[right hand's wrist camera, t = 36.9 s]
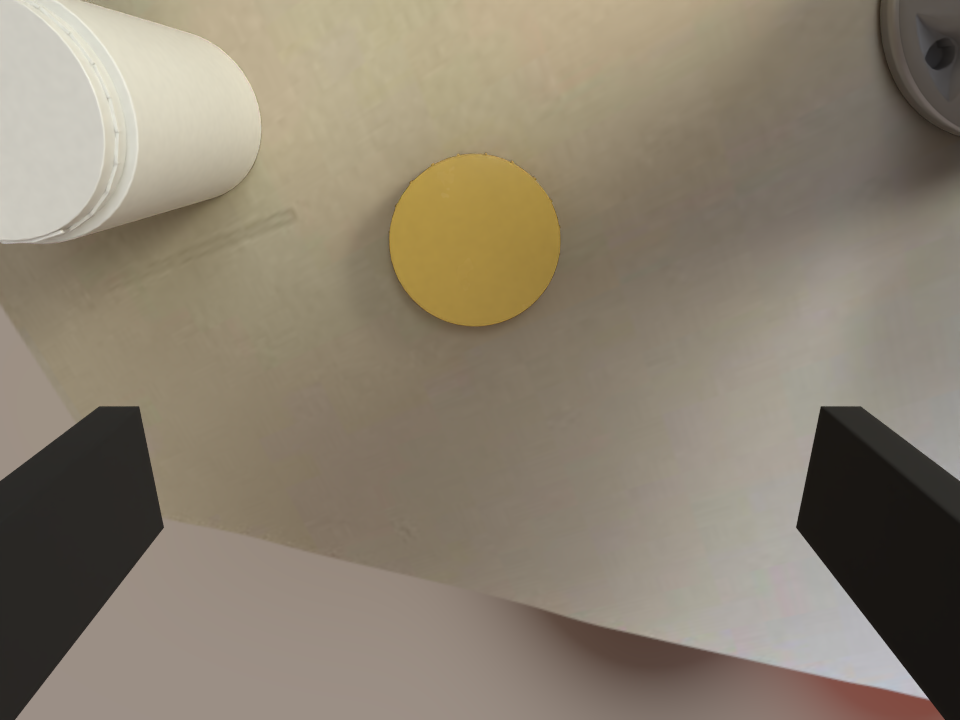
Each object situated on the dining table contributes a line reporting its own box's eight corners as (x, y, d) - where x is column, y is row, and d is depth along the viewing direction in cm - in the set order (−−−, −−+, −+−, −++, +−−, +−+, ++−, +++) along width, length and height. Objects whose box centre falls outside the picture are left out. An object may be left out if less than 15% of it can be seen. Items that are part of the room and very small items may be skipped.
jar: (69, 60, 33) (-222, 18, 20) (220, 6, 33) (27, -78, 19) (146, 220, 36) (-60, 282, 22) (286, 173, 35) (162, 209, 22)
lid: (361, 261, 37) (356, 267, 36) (451, 116, 34) (450, 116, 33) (495, 347, 39) (496, 357, 37) (591, 217, 36) (596, 221, 35)
